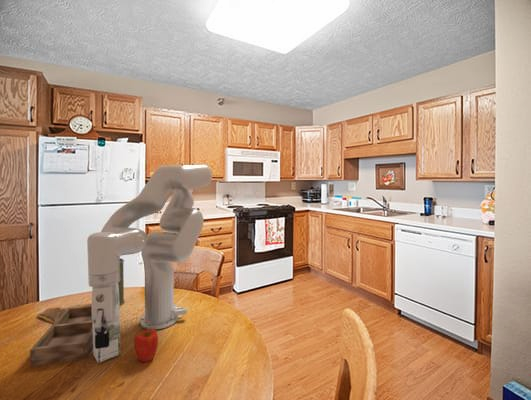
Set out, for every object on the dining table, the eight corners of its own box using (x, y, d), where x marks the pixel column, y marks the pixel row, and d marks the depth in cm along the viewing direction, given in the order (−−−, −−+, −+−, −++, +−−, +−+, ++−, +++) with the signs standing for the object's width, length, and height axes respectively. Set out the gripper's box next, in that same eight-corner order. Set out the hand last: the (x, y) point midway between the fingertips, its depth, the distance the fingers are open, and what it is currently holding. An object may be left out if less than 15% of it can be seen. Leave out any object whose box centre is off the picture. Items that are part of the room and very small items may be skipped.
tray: (109, 315, 99) (109, 303, 99) (87, 358, 75) (87, 342, 75) (68, 320, 95) (67, 307, 95) (30, 366, 71) (30, 350, 71)
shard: (54, 325, 93) (54, 319, 93) (27, 327, 91) (27, 322, 91) (67, 310, 103) (67, 306, 103) (43, 313, 101) (43, 308, 101)
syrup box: (114, 346, 81) (113, 298, 80) (121, 355, 76) (120, 305, 75) (92, 354, 77) (90, 304, 76) (97, 364, 72) (96, 312, 71)
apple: (140, 351, 79) (140, 326, 78) (161, 351, 79) (161, 326, 78) (129, 365, 73) (129, 338, 72) (152, 366, 72) (152, 339, 72)
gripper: (112, 287, 68) (114, 355, 69) (125, 266, 84) (126, 321, 86) (77, 291, 65) (79, 361, 67) (98, 268, 82) (99, 324, 83)
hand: (106, 338), depth 76 cm, fingers closed on syrup box, 7 cm apart
